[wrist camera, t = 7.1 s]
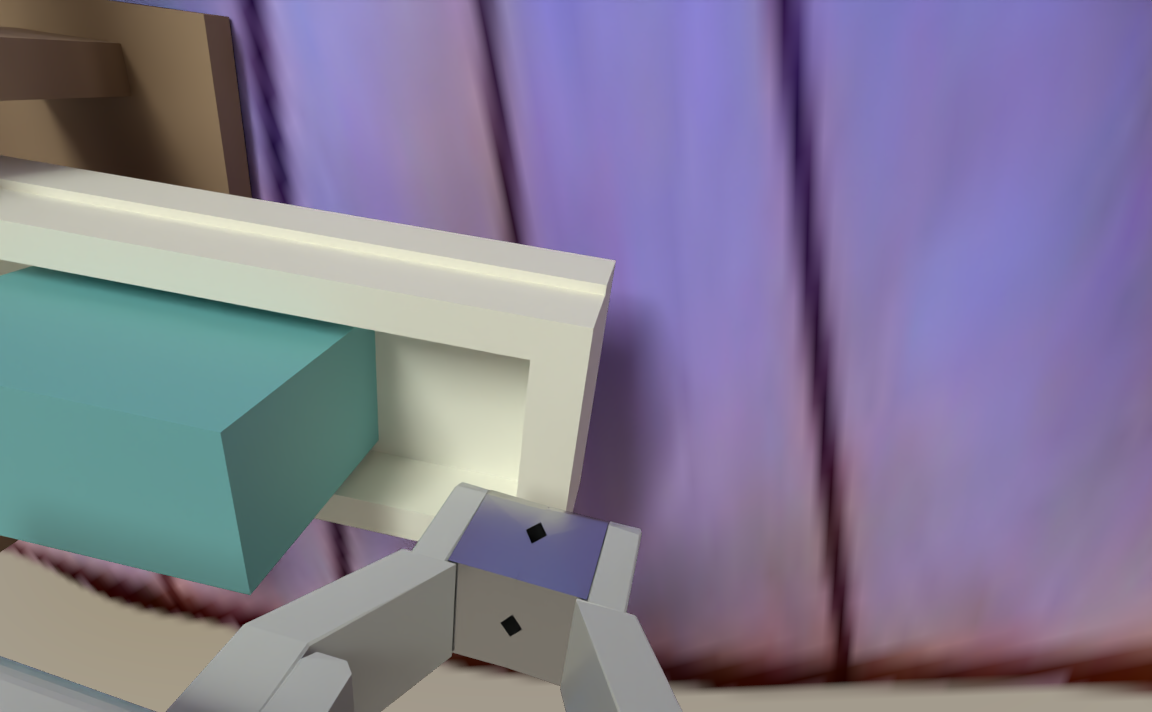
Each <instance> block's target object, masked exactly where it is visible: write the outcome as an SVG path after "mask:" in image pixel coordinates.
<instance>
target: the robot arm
mask: <svg viewBox="0 0 1152 712" xmlns="http://www.w3.org/2000/svg"><path fill="white" fill-rule="evenodd" d="M641 535H642V533H641V529H639V528H635V527H631V526H627V525H623V524H619V523H615V522H611V521H610V524H609V522H608V521H605V520H601V519H597V518H593V517H589V516H585V515H581V514H577V513H573V512H569V511H565V510H562V509H558V508H554V507H549V506H546V505H542V504H539V503H536V502H532V501H529V500H525V499H522V498H518V497H515V496H511V495H508V494H505V493H501V492H498V491H494V490H488V489H485V488H481V487H478V486H475V485H471V484H468V483H464V482H461V483H460V484H458V485H457V486H456V487H455V488H454V489H453V491H452V492H451V493H450V495H449V496H448V498H447V499H446V501H445V502H444V504H443V505H442V507H441V508H440V510H439V511H438V513H437V514H436V516H435V517H434V519H433V520H432V522H431V523H430V524H429V526H428V527H427V529H426V530H425V532H424V533H423V535H422V536H421V538H420V539H419V541H418V542H417V544H416V545H415V547H414V548H413V550H412V551H409V550H406V549H401V550H399V551H397V552H395V553H392V554H390V555H388V556H386V557H384V558H382V559H380V560H378V561H376V562H374V563H371V564H369V565H367V566H365V567H363V568H361V569H359V570H357V571H355V572H353V573H351V574H348V575H346V576H344V577H342V578H340V579H338V580H336V581H334V582H332V583H330V584H327V585H325V586H323V587H321V588H319V589H317V590H315V591H313V592H311V593H309V594H306V595H304V596H302V597H300V598H298V599H296V600H294V601H292V602H290V603H288V604H286V605H283V606H281V607H279V608H277V609H275V610H273V611H271V612H269V613H267V614H265V615H262V616H260V617H258V618H256V619H254V620H252V621H250V622H248V623H246V624H244V625H243V626H242V627H241V628H240V629H239V630H238V632H237V633H236V634H235V635H234V636H233V637H232V638H231V639H230V641H229V642H228V643H227V644H226V645H225V646H224V647H223V648H222V649H221V651H220V652H219V653H218V654H217V655H216V656H215V657H214V658H213V659H212V661H211V662H210V663H209V664H208V665H207V666H206V667H205V669H204V670H203V671H202V672H201V673H200V674H199V675H198V676H197V677H196V678H195V680H194V681H193V682H192V683H191V684H190V685H189V686H188V687H187V688H186V690H185V691H184V692H183V693H182V694H181V695H180V696H179V697H178V699H177V700H176V701H175V702H174V703H173V704H172V705H171V706H170V708H169V709H168V710H167V711H166V712H381V711H382V710H384V709H385V708H386V707H387V706H389V705H390V704H391V703H393V702H394V701H395V700H396V699H398V698H399V697H400V696H402V695H403V694H404V693H405V692H407V691H408V690H409V689H410V688H412V687H413V686H414V685H416V684H417V683H418V682H419V681H421V680H422V679H423V678H424V677H426V676H427V675H428V674H429V673H431V672H432V671H433V670H435V669H436V668H437V667H439V666H440V665H441V664H442V663H444V662H445V661H446V660H447V659H449V658H450V657H451V656H452V653H456V654H460V655H463V656H467V657H470V658H474V659H478V660H481V661H485V662H488V663H492V664H496V665H499V666H503V667H506V668H509V669H512V670H515V671H518V672H521V673H524V674H527V675H530V676H532V677H535V678H538V679H541V680H544V681H547V682H550V683H553V684H556V685H559V686H561V689H560V690H561V694H562V698H563V702H564V706H565V710H566V712H682V710H681V708H680V706H679V704H678V701H677V699H676V697H675V695H674V693H673V691H672V689H671V687H670V685H669V683H668V681H667V679H666V676H665V674H664V672H663V670H662V668H661V666H660V664H659V662H658V660H657V658H656V656H655V654H654V651H653V649H652V647H651V645H650V643H649V641H648V639H647V637H646V635H645V633H644V631H643V629H642V626H641V624H640V622H639V620H638V618H637V616H635V615H632V614H629V613H627V607H628V602H629V597H630V592H631V587H632V582H633V576H634V571H635V566H636V561H637V556H638V550H639V545H640V540H641ZM0 712H156V711H153V710H150V709H147V708H144V707H142V706H139V705H136V704H133V703H130V702H127V701H125V700H122V699H119V698H116V697H113V696H111V695H108V694H105V693H102V692H100V691H97V690H94V689H91V688H88V687H85V686H83V685H80V684H77V683H74V682H71V681H69V680H66V679H63V678H60V677H58V676H55V675H52V674H49V673H46V672H43V671H41V670H38V669H35V668H32V667H30V666H27V665H24V664H21V663H18V662H16V661H13V660H10V659H7V658H4V657H1V656H0Z"/></svg>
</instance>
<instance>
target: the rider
mask: <svg viewBox="0 0 1152 712" xmlns="http://www.w3.org/2000/svg"><path fill="white" fill-rule="evenodd" d="M378 440H379V434H378V406H377V378H376V350H375V331H374V330H369V329H364V328H358V327H353V326H348V325H343V324H337V323H332V322H327V321H322V320H316V319H311V318H306V317H301V316H295V315H290V314H285V313H279V312H274V311H269V310H264V309H258V308H253V307H248V306H243V305H237V304H232V303H227V302H222V301H216V300H211V299H206V298H200V297H195V296H190V295H185V294H179V293H174V292H169V291H164V290H158V289H153V288H148V287H143V286H137V285H132V284H127V283H121V282H116V281H111V280H106V279H100V278H95V277H90V276H85V275H79V274H74V273H69V272H64V271H58V270H53V269H48V268H42V267H37V266H30V267H27V268H24V269H20V270H17V271H14V272H10V273H7V274H4V275H0V535H1V536H5V537H10V538H14V539H18V540H22V541H26V542H30V543H35V544H39V545H43V546H47V547H51V548H55V549H60V550H64V551H68V552H72V553H76V554H81V555H85V556H89V557H93V558H97V559H101V560H106V561H110V562H114V563H118V564H122V565H127V566H131V567H135V568H139V569H143V570H147V571H152V572H156V573H160V574H164V575H168V576H173V577H177V578H181V579H185V580H189V581H193V582H198V583H202V584H206V585H210V586H214V587H218V588H223V589H227V590H231V591H235V592H239V593H244V594H248V595H251V594H252V592H253V591H254V590H255V589H256V588H257V586H258V585H259V584H260V583H261V581H262V580H263V579H264V578H265V577H266V575H267V574H268V573H269V572H270V571H271V569H272V568H273V567H274V566H275V565H276V563H277V562H278V561H279V560H280V559H281V557H282V556H283V555H284V554H285V553H286V551H287V550H288V549H289V548H290V546H291V545H292V544H293V543H294V542H295V540H296V539H297V538H298V537H299V536H300V534H301V533H302V532H303V531H304V530H305V528H306V527H307V526H308V525H309V524H310V522H311V521H312V520H313V519H314V517H315V516H316V515H317V514H318V513H319V511H320V510H321V509H322V508H323V507H324V505H325V504H326V503H327V502H328V501H329V499H330V498H331V497H332V496H333V495H334V493H335V492H336V491H337V490H338V488H339V487H340V486H341V485H342V484H343V482H344V481H345V480H346V479H347V478H348V476H349V475H350V474H351V473H352V472H353V470H354V469H355V468H356V467H357V466H358V464H359V463H360V462H361V461H362V459H363V458H364V457H365V456H366V455H367V453H368V452H369V451H370V450H371V449H372V447H373V446H374V445H375V444H376V443H377V441H378Z"/></svg>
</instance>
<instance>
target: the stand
mask: <svg viewBox="0 0 1152 712" xmlns="http://www.w3.org/2000/svg"><path fill="white" fill-rule="evenodd" d="M0 155H2V156H8V157H14V158H20V159H26V160H31V161H37V162H43V163H49V164H55V165H61V166H67V167H72V168H78V169H84V170H90V171H96V172H102V173H107V174H113V175H119V176H125V177H131V178H137V179H142V180H148V181H154V182H160V183H166V184H172V185H177V186H183V187H189V188H195V189H201V190H207V191H212V192H218V193H224V194H230V195H236V196H242V197H247V198H252V195H251V187H250V179H249V171H248V163H247V155H246V148H245V140H244V132H243V124H242V116H241V108H240V100H239V93H238V85H237V77H236V69H235V61H234V53H233V45H232V37H231V30H230V22H229V17H225V16H218V15H211V14H204V13H197V12H190V11H183V10H176V9H169V8H161V7H154V6H147V5H140V4H133V3H126V2H119V1H112V0H0ZM16 541H18V539H14V538H10V537H5V536H1V535H0V552H1V551H2V550H4V549H6V548H7V547H9V546H10V545H12V544H13V543H15V542H16Z"/></svg>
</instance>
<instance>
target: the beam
mask: <svg viewBox="0 0 1152 712" xmlns="http://www.w3.org/2000/svg"><path fill="white" fill-rule="evenodd" d="M615 262H616V261H615V260H609V259H603V258H597V257H592V256H586V255H580V254H574V253H568V252H562V251H557V250H551V249H545V248H539V247H533V246H527V245H522V244H516V243H510V242H504V241H498V240H492V239H487V238H481V237H475V236H469V235H463V234H457V233H452V232H446V231H440V230H434V229H428V228H422V227H417V226H411V225H405V224H399V223H393V222H387V221H382V220H376V219H370V218H364V217H358V216H352V215H347V214H341V213H335V212H329V211H323V210H317V209H312V208H306V207H300V206H294V205H288V204H282V203H277V202H271V201H265V200H259V199H253V198H247V197H242V196H236V195H230V194H224V193H218V192H212V191H207V190H201V189H195V188H189V187H183V186H177V185H172V184H166V183H160V182H154V181H148V180H142V179H137V178H131V177H125V176H119V175H113V174H107V173H102V172H96V171H90V170H84V169H78V168H72V167H67V166H61V165H55V164H49V163H43V162H37V161H31V160H26V159H20V158H14V157H8V156H2V155H0V275H4V274H7V273H10V272H14V271H17V270H20V269H24V268H27V267H30V266H37V267H42V268H48V269H53V270H58V271H64V272H69V273H74V274H79V275H85V276H90V277H95V278H100V279H106V280H111V281H116V282H121V283H127V284H132V285H137V286H143V287H148V288H153V289H158V290H164V291H169V292H174V293H179V294H185V295H190V296H195V297H200V298H206V299H211V300H216V301H222V302H227V303H232V304H237V305H243V306H248V307H253V308H258V309H264V310H269V311H274V312H279V313H285V314H290V315H295V316H301V317H306V318H311V319H316V320H322V321H327V322H332V323H337V324H343V325H348V326H353V327H358V328H364V329H369V330H374V331H375V350H376V378H377V406H378V434H379V440H378V441H377V443H376V444H375V445H374V446H373V447H372V449H371V450H370V451H369V452H368V453H367V455H366V456H365V457H364V458H363V459H362V461H361V462H360V463H359V464H358V466H357V467H356V468H355V469H354V470H353V472H352V473H351V474H350V475H349V476H348V478H347V479H346V480H345V481H344V482H343V484H342V485H341V486H340V487H339V488H338V490H337V491H336V492H335V493H334V495H333V496H332V497H331V498H330V499H329V501H328V502H327V503H326V504H325V505H324V507H323V508H322V509H321V510H320V511H319V513H318V514H317V515H316V516H315V517H314V518H316V519H320V520H325V521H329V522H333V523H338V524H342V525H347V526H351V527H356V528H360V529H365V530H369V531H374V532H378V533H383V534H387V535H392V536H396V537H401V538H405V539H410V540H414V541H419V539H420V538H421V536H422V535H423V533H424V532H425V530H426V529H427V527H428V526H429V524H430V523H431V522H432V520H433V519H434V517H435V516H436V514H437V513H438V511H439V510H440V508H441V507H442V505H443V504H444V502H445V501H446V499H447V498H448V496H449V495H450V493H451V492H452V491H453V489H454V488H455V487H456V486H457V485H458V484H460V483H461V482H464V483H468V484H471V485H475V486H478V487H481V488H485V489H488V490H494V491H498V492H501V493H505V494H508V495H511V496H515V497H518V498H522V499H525V500H529V501H532V502H536V503H539V504H542V505H546V506H549V507H554V508H558V509H562V510H565V511H569V512H573V509H574V505H575V501H576V497H577V493H578V489H579V485H580V480H581V474H582V468H583V461H584V455H585V449H586V443H587V437H588V430H589V424H590V418H591V412H592V405H593V399H594V393H595V387H596V381H597V374H598V368H599V362H600V356H601V349H602V343H603V337H604V331H605V325H606V318H607V312H608V306H609V300H610V293H611V287H612V281H613V275H614V268H615Z"/></svg>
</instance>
